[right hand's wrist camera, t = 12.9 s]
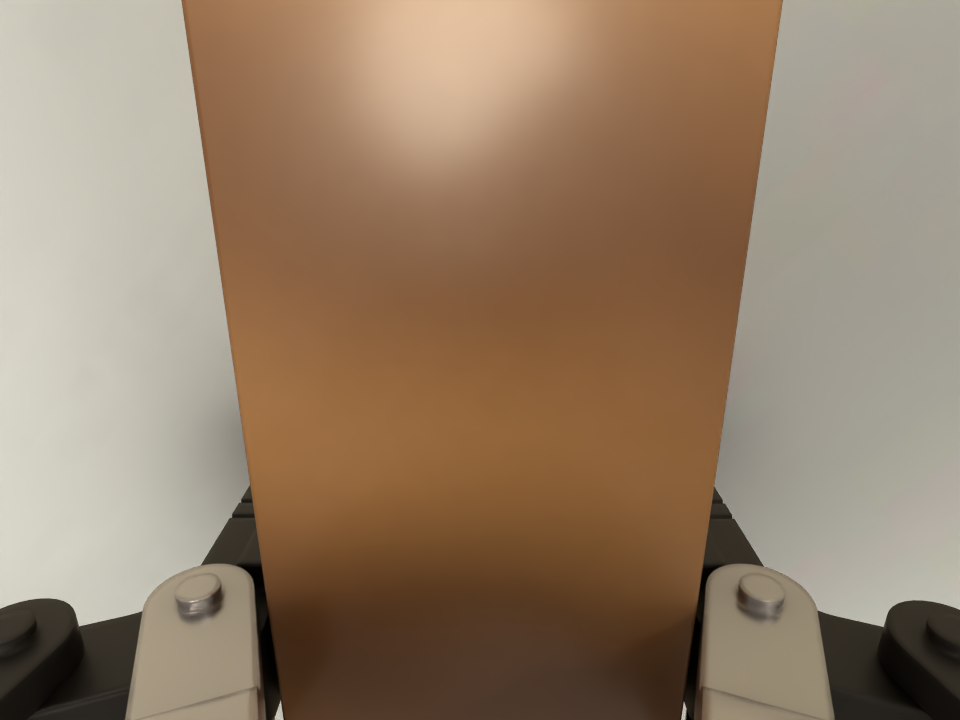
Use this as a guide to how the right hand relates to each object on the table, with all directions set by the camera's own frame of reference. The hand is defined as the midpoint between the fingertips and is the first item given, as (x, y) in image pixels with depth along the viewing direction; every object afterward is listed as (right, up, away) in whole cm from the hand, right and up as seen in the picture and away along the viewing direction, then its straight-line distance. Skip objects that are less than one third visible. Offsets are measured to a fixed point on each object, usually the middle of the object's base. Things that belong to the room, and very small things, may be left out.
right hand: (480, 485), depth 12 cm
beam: (0, +28, -7) cm, 29 cm away
